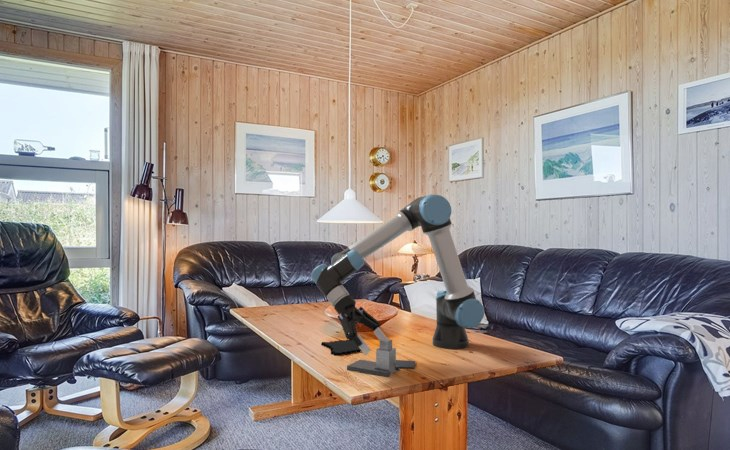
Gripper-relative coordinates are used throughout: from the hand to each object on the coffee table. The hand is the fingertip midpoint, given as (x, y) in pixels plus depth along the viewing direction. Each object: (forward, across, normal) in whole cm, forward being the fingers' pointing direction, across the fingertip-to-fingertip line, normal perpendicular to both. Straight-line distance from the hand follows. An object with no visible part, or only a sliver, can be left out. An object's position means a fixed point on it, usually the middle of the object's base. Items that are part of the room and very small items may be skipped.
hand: (378, 348), depth 155 cm
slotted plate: (+4, -1, -7) cm, 8 cm away
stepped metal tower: (+8, -1, -4) cm, 8 cm away
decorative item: (-14, -20, -26) cm, 35 cm away
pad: (+9, -11, -2) cm, 14 cm away
